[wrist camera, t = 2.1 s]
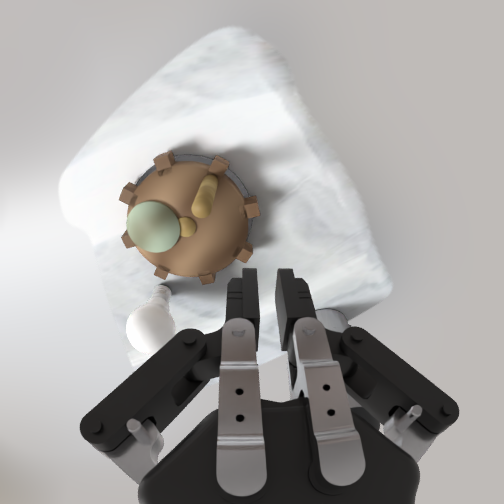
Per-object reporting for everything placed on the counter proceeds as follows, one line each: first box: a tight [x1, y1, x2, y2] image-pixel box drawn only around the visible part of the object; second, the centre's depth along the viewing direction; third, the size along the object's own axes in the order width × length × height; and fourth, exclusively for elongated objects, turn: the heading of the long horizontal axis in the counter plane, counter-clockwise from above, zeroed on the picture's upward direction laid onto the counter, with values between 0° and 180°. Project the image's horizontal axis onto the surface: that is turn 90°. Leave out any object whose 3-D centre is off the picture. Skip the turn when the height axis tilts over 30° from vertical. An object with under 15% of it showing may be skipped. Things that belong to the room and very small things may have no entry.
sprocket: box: [119, 151, 260, 285], centre depth 29 cm, size 17×17×9 cm
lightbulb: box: [126, 285, 176, 355], centre depth 35 cm, size 6×6×11 cm
